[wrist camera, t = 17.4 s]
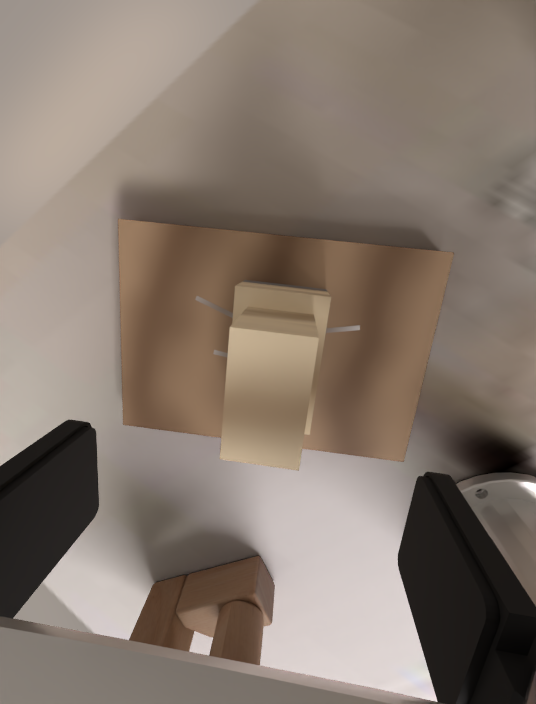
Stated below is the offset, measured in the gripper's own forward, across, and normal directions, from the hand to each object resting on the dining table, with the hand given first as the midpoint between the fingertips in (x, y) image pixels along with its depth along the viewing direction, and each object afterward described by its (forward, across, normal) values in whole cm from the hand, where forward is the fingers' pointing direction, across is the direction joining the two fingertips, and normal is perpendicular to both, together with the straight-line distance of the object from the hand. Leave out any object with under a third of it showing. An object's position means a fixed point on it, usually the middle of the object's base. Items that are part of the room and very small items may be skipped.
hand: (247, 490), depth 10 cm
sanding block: (+14, 0, -1) cm, 14 cm away
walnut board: (+16, +1, -1) cm, 16 cm away
